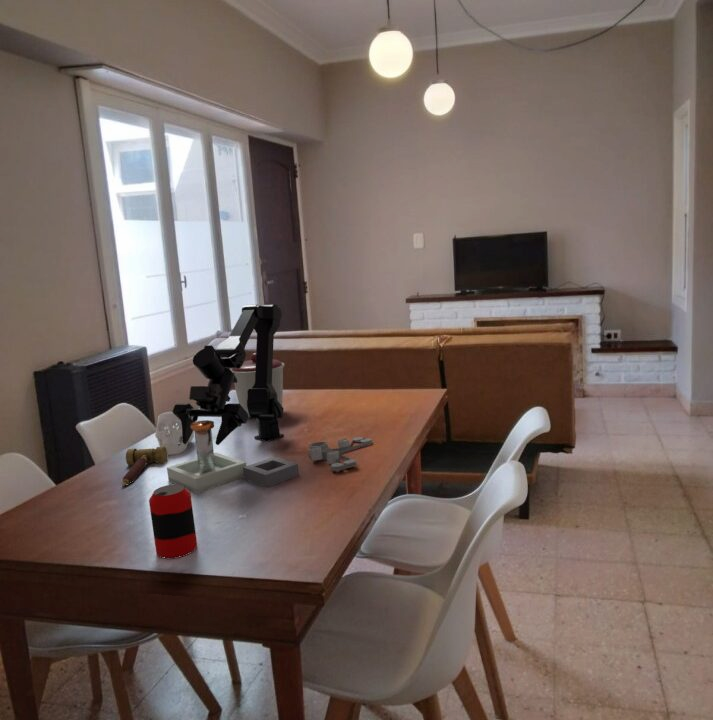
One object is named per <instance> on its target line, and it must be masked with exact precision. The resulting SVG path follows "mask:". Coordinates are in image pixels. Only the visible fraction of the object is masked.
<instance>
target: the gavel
mask: <svg viewBox="0 0 713 720" xmlns="http://www.w3.org/2000/svg"><path fill="white" fill-rule="evenodd" d="M167 461H168V455H167V449H166V448H165V447H160V446H157V447H155V448H142V449H141V448H139V449H137V448H128V449H127V450H126V452H125V462H126V464H127V466H128V465H132V466H131V467H130V469H128V471H127V472H126V474H124V476H123V477H122V481H121V483H122V484H121V485H122V487H126V486H125V485H126V484H129V483H130V482H132V481H133V480H134V479H136V478H138V476H139V475H140V474H141V472H142V471H143V470H144V469H145V467H146V466H147V464H146V463H149V464H155V463H159V464H164V463H165V464H166V463H167ZM154 462H155V463H154ZM134 481H135V480H134ZM134 481H133V482H134ZM133 482H132V483H133ZM129 485H130V484H129Z"/></svg>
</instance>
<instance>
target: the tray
mask: <svg viewBox="0 0 713 720" xmlns="http://www.w3.org/2000/svg"><path fill="white" fill-rule="evenodd" d="M214 460H215V469H216V470H214V471H211V472H208V473H205V474H202V475H199V467H198V458H197V457H196V458H193V459H190V460H187V461H184V462H180V463H177V464H174V465H171V466H168V467H167V466H166V470H167V471H166V472H167V473H166V474H167V477H168V482H169V483H172V482H173V483H172V484H174V483H175V484H176V485H183V486H184V487H185V488H186V489H187V490H188V491H191V492H193V493H195V492H196V493H195V494H199V492H200V493H202V492H205V491H209V490H211V489H213V488H216V487H219V486H223V485H225V484H228V483H230V482H234V481H237V480H240V479H242V478H243V479H244V471H243V467H245V466H247V462H246V461H243V460H239V459H237V458H234V457H231V456H229V455H228V456H227V455H226V454H222V453H220V452H214ZM175 484H174V485H175Z"/></svg>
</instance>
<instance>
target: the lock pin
mask: <svg viewBox="0 0 713 720" xmlns="http://www.w3.org/2000/svg"><path fill="white" fill-rule="evenodd" d="M190 426H191V430H193V431H194V438H195V448H196V455H197V456H196V458H198V467H199V475H202V474H205V473H208V472H211V471H214V470H216V469H215V460H214V453H215V451H214V443H213V442H214V441H213V434H212V429H214V428H215V422H214V420H199V421H196V422H194V423H192V424H191V425H190Z"/></svg>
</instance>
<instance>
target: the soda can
mask: <svg viewBox="0 0 713 720" xmlns="http://www.w3.org/2000/svg"><path fill="white" fill-rule="evenodd" d="M148 504H149V509H150V518H151V524H152V532H153V539H154V546H155V553H156V555H157V556H159V557H160V556H161V557H160V558H162V557H165V558H164V559H167V558H171V559H176V558H175V557H179V556H182V557H184V556H183V555H185V556H187V555H186V554H188V553H190V552H191V553H193V552H194V551H195V550H196V548H197V546H198V540H197V533H196V523H195V519H194V518H195V517H194V511H193V502H192V494H191V492H190V490H188V489H186V488H185V487H184V486H183V485H177V484H167V485H163V486H160V487H158V488H156V489H155V490H153V492H152V494H151V496H150V497H149V500H148ZM194 549H195V550H194ZM193 550H194V551H193ZM192 551H193V552H192ZM191 553H190V554H191ZM188 555H189V554H188ZM179 558H180V557H179Z"/></svg>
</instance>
